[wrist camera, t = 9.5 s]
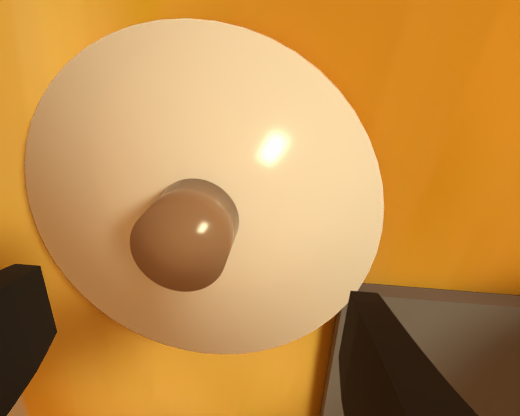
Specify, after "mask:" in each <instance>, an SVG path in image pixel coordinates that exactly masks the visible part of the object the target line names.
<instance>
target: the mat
mask: <svg viewBox="0 0 520 416" xmlns="http://www.w3.org/2000/svg"><path fill="white" fill-rule="evenodd" d="M358 291H362V292H374V293H378V294H379V295H380V296H381V297H382V298H383V300H384V301H385V302H386V304H387V305H388V306H389V308H390V309H391V311H392V312H393V313H394V315H395V316H396V317H397V319H398V320H399V321H400V323H401V324H402V325H403V327H404V328H405V329H406V330H407V332H408V333H409V334H410V336H411V337H412V338H413V340H414V341H415V342H416V343H417V345H418V346H419V347H420V348H421V350H422V351H423V352H424V353H425V355H426V356H427V357H428V358H429V359H430V361H431V362H432V363H433V364H434V366H435V367H436V368H437V369H438V370H439V372H440V373H441V374H442V375H443V376H444V378H445V379H446V380H447V381H448V382H449V383H450V385H451V386H452V387H453V388H454V389H455V390H456V391H457V393H458V394H459V395H460V396H461V397H462V398H463V399H464V400H465V401H466V403H467V404H468V405H469V406H470V407H471V408H472V409H473V410H474V411H475V413H476V414H477V415H478V416H520V296H519V295H506V294H493V293H480V292H468V291H455V290H442V289H429V288H417V287H404V286H391V285H379V284H366V283H362V284H361V286H360V288H359V289H358ZM347 307H348V303H347V304H346V305H345V306H344V307H343V308H342V309H341V310H340V311H339V312H338V313H337V316H336V322H335V328H334V334H333V339H332V345H331V351H330V357H329V363H328V369H327V375H326V381H325V387H324V393H323V399H322V405H321V411H320V416H344V413H343V407H342V401H341V388H340V374H339V358H338V356H339V350H340V345H341V339H342V334H343V328H344V323H345V317H346V312H347Z"/></svg>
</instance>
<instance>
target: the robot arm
mask: <svg viewBox="0 0 520 416" xmlns="http://www.w3.org/2000/svg"><path fill="white" fill-rule="evenodd" d="M56 333H57V330H56V326H55V322H54V318H53V314H52V310H51V306H50V302H49V299H48V295H47V291H46V287H45V283H44V279H43V275H42V271H41V267H40V266H35V265H22V264H14V265H11V266H9V267H6V268H4V269H2V270H0V416H7V414H8V413H9V412H10V410H11V409H12V407H13V406H14V404H15V403H16V401H17V400H18V398H19V397H20V396H21V394H22V393H23V391H24V390H25V388H26V387H27V385H28V384H29V382H30V381H31V379H32V378H33V376H34V375H35V373H36V372H37V370H38V368H39V366H40V364H41V362H42V361H43V359H44V357H45V355H46V353H47V351H48V349H49V347H50V345H51V343H52V341H53V339H54V337H55V335H56ZM338 358H339V374H340V388H341V401H342V407H343V413H344V416H478V415H477V414H476V413H475V411H474V410H473V409H472V408H471V407H470V406H469V405H468V404H467V403H466V401H465V400H464V399H463V398H462V397H461V396H460V395H459V394H458V393H457V391H456V390H455V389H454V388H453V387H452V386H451V385H450V383H449V382H448V381H447V380H446V379H445V378H444V376H443V375H442V374H441V373H440V372H439V370H438V369H437V368H436V367H435V366H434V364H433V363H432V362H431V361H430V359H429V358H428V357H427V356H426V355H425V353H424V352H423V351H422V350H421V348H420V347H419V346H418V345H417V343H416V342H415V341H414V340H413V338H412V337H411V336H410V334H409V333H408V332H407V330H406V329H405V328H404V327H403V325H402V324H401V323H400V321H399V320H398V319H397V317H396V316H395V315H394V313H393V312H392V311H391V309H390V308H389V306H388V305H387V304H386V302H385V301H384V300H383V298H382V297H381V296H380V295H379V294H378V293H374V292H362V291H350V296H349V301H348V307H347V312H346V317H345V323H344V328H343V334H342V339H341V345H340V350H339V356H338Z"/></svg>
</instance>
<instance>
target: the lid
mask: <svg viewBox="0 0 520 416" xmlns="http://www.w3.org/2000/svg"><path fill="white" fill-rule="evenodd" d="M25 181H26V190H27V195H28V200H29V205H30V209H31V212H32V215H33V218H34V221H35V224H36V227H37V229H38V232H39V234H40V236H41V238H42V240H43V243H44V245H45V247H46V248H47V250H48V252H49V253H50V255H51V257H52V258H53V260H54V262H55V263H56V265H57V266H58V267H59V269H60V270H61V271H62V272H63V274H64V275H65V276H66V278H67V279H68V280H69V281H70V282H71V284H72V285H73V286H74V287H75V288H76V289H77V290H78V291H79V292H80V293H81V294H82V295H83V296H84V297H85V298H86V299H87V300H88V301H90V302H91V303H92V304H93V305H94V306H95V307H96V308H98V309H99V310H100V311H102V312H103V313H104V314H106V315H107V316H109V317H110V318H111V319H113V320H114V321H116V322H118V323H119V324H121V325H123V326H124V327H126V328H128V329H129V330H131V331H133V332H135V333H138V334H140V335H142V336H144V337H146V338H148V339H151V340H154V341H156V342H159V343H162V344H165V345H168V346H172V347H175V348H179V349H183V350H188V351H194V352H200V353H209V354H244V353H251V352H257V351H263V350H267V349H271V348H275V347H278V346H282V345H284V344H287V343H290V342H292V341H295V340H297V339H300V338H301V337H303V336H305V335H307V334H309V333H311V332H312V331H314V330H316V329H318V328H319V327H320V326H322V325H323V324H325V323H326V322H327V321H329V320H330V319H331V318H333V317H334V316H335V315H336V314H337V313H338V312H339V311H340V310H341V309H342V308H343V307H344V306H345V305H346V304H347V303H348V301H349V296H350V291H358V289H359V288H360V286H361V284H362V283H363V281H364V279H365V278H366V276H367V274H368V273H369V271H370V268H371V266H372V263H373V261H374V258H375V256H376V253H377V250H378V246H379V242H380V238H381V234H382V226H383V215H384V200H383V185H382V180H381V175H380V170H379V166H378V161H377V158H376V156H375V153H374V150H373V148H372V145H371V142H370V140H369V137H368V135H367V133H366V131H365V129H364V127H363V125H362V123H361V122H360V120H359V118H358V116H357V114H356V112H355V111H354V109H353V108H352V106H351V105H350V104H349V102H348V101H347V100H346V98H345V97H344V95H343V94H342V93H341V91H340V90H339V89H338V88H337V87H336V86H335V85H334V84H333V83H332V82H331V81H330V79H329V78H328V77H327V76H326V75H325V74H324V73H323V72H322V71H321V70H320V69H319V68H317V67H316V66H315V65H313V64H312V63H311V62H309V61H308V60H307V59H306V58H304V57H303V56H302V55H300V54H299V53H298V52H296V51H295V50H293V49H291V48H289V47H287V46H286V45H284V44H282V43H280V42H279V41H277V40H275V39H273V38H271V37H269V36H266V35H264V34H261V33H259V32H256V31H254V30H251V29H249V28H246V27H242V26H238V25H233V24H229V23H225V22H221V21H213V20H202V19H190V18H182V19H166V20H155V21H151V22H146V23H141V24H137V25H132V26H129V27H127V28H124V29H121V30H119V31H116V32H114V33H111V34H109V35H106V36H105V37H103V38H101V39H100V40H98V41H96V42H94V43H93V44H91V45H89V46H88V47H86V48H85V49H83V50H82V51H81V52H80V53H79V54H77V55H76V56H75V57H74V58H73V59H71V60H70V61H69V62H68V63H67V64H66V65H65V66H64V67H63V68H62V70H61V71H60V72H59V73H58V74H57V75H56V77H55V78H54V79H53V80H52V81H51V83H50V85H49V86H48V88H47V90H46V91H45V93H44V94H43V96H42V98H41V99H40V101H39V104H38V106H37V109H36V111H35V114H34V116H33V119H32V121H31V125H30V129H29V134H28V138H27V142H26V153H25Z"/></svg>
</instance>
